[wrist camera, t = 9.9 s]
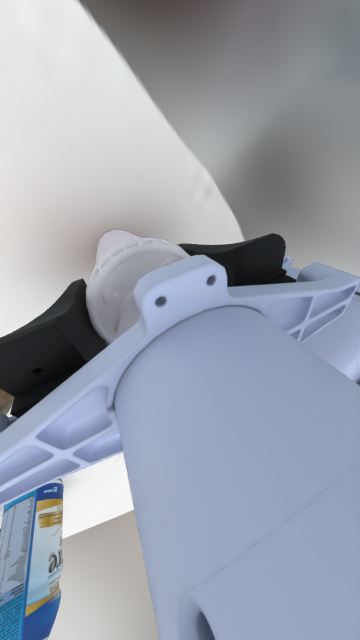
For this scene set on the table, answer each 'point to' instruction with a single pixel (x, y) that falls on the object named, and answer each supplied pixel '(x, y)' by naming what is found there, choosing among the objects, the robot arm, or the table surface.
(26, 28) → the table surface
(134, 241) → the smoothie
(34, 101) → the table surface
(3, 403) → the worn brown figurine
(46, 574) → the beverage bottle
